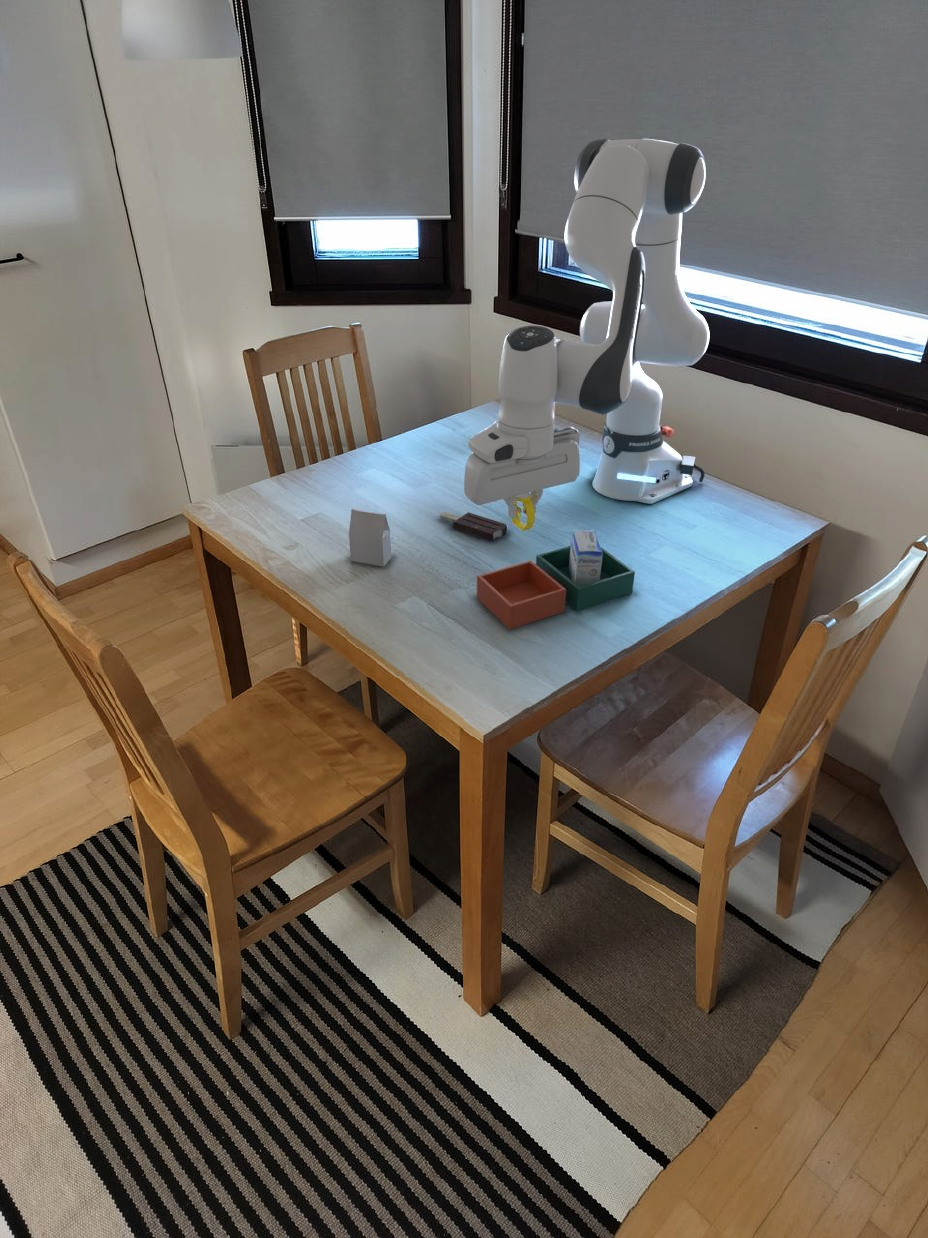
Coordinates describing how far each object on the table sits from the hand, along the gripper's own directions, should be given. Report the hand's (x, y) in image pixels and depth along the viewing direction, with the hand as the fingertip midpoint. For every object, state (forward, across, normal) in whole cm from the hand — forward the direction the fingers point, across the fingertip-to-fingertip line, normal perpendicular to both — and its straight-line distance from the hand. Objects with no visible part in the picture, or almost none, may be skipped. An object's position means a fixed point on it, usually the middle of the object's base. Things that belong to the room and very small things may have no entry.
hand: (521, 515), depth 144 cm
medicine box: (+17, -14, +1) cm, 22 cm away
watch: (+2, 0, 0) cm, 2 cm away
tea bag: (+18, +16, -26) cm, 36 cm away
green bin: (+17, -14, +1) cm, 22 cm away
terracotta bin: (+17, 0, +1) cm, 17 cm away
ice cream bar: (+18, -6, -28) cm, 34 cm away
